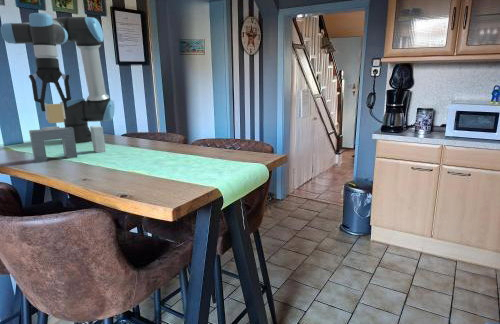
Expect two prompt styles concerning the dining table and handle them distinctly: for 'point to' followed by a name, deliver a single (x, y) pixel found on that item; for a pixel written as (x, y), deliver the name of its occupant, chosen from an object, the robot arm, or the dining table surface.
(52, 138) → the housing
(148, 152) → the dining table surface
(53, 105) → the plug
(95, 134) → the skincare box
